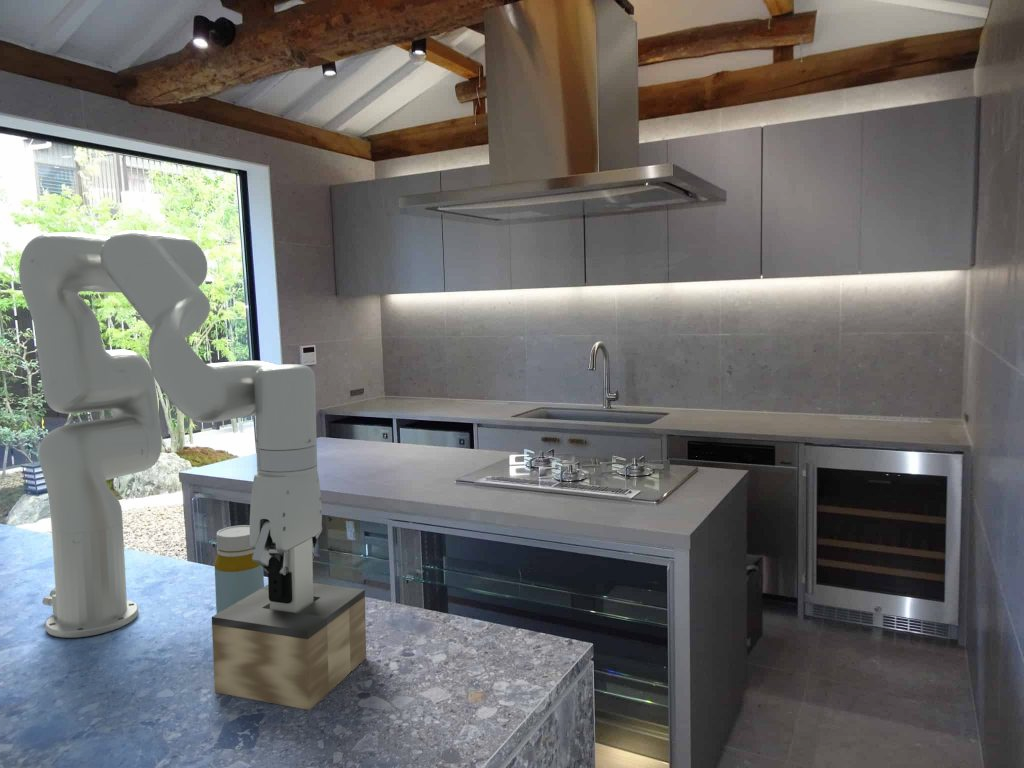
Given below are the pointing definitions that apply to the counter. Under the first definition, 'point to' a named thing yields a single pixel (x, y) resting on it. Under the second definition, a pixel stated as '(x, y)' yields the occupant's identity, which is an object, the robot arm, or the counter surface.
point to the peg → (299, 578)
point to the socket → (289, 646)
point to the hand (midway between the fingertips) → (291, 593)
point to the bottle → (235, 567)
